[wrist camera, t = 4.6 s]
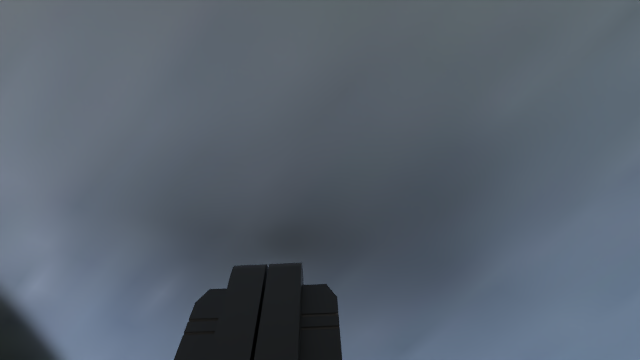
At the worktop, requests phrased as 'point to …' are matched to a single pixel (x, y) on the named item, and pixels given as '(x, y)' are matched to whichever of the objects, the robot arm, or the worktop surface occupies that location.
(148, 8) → the worktop surface
